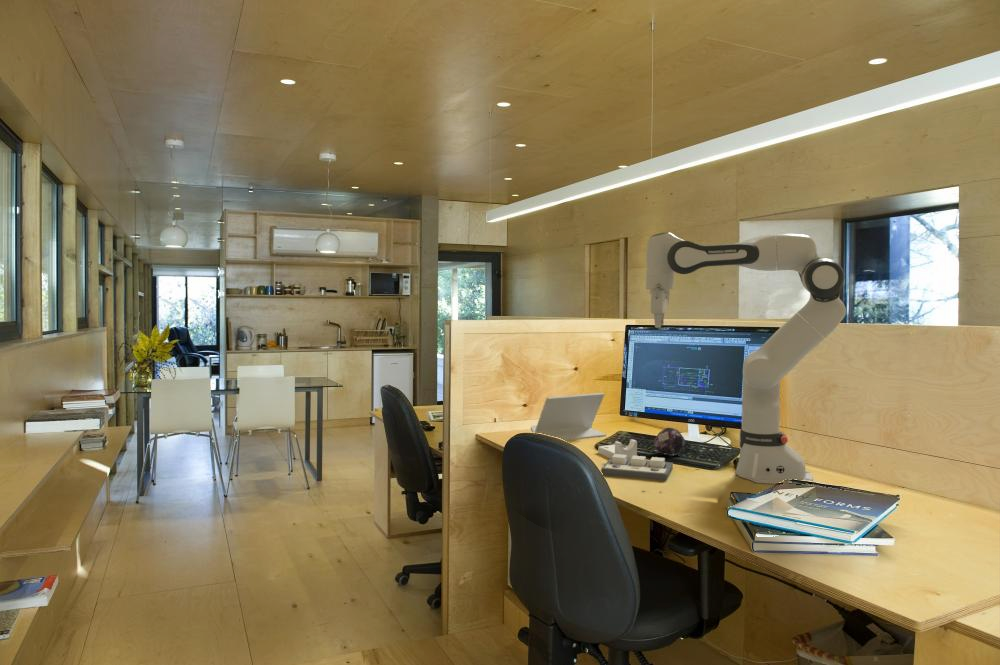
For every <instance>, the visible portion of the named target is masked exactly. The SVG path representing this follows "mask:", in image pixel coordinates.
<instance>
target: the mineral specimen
mask: <svg viewBox="0 0 1000 665" xmlns="http://www.w3.org/2000/svg"><path fill="white" fill-rule="evenodd" d="M685 443H686V439H685V438H684V436H683V435H682V434H681V432H680V431H679V430H678V429H676V428H673V427H665V428H663V429H662V430H661V431H660V432H659V433H658V434H657V435H656V436H655V438H654V440H653V446H654V448H655V449H656V450H658V451H659V452H661V453H667V454H676V453H678V454H679V453H680V452H681V451H682V449H683V448H684V447H685ZM658 451H657V452H658ZM659 452H658V453H659Z"/></svg>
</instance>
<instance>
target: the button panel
mask: <svg viewBox="0 0 1000 665" xmlns="http://www.w3.org/2000/svg"><path fill="white" fill-rule="evenodd" d="M673 467H674V462H669V461H665V466H664V468H663V469H662V468H651V467H650V460H647V459H646V465H645V466H644V467H640V466H631V459H627V463H626V465H617V464H612V457H611V458H609V459H608V460H607V461H606V463H605V464H604V465H603V466H602V467H601V468H600V469H601V470H600V471H601V472H602V473H603V475H602V476H609V477H610V476H611V477H618V478H619V477H620V478H629V479H630V478H631V479H642V480H651V481H652V480H653V481H660V482H661V481H662V482H667V481H668V479H669V477H670V475H671V473H672V471H673V469H674V468H673ZM601 472H600V473H601Z"/></svg>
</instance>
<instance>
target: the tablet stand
mask: <svg viewBox="0 0 1000 665" xmlns="http://www.w3.org/2000/svg"><path fill="white" fill-rule="evenodd" d="M604 397H605V394H604V392H595V393H584V394H581V393H580V394H573V395H572V394H571V395H559V396H550V397H549V396H548V397H546V399H545V401H544V404H543V407H542V410H541V413H540V416H539V417H538V422H537V424H535V425H531V426H530V430H531V432H535V433H542V434H546V435H550V436H554V437H558V438H561V439H563V440H566V441H565V442H568V441H574V440H584V439H593V438H601V437H602V438H603V437H607V434H606V433H604V432H601V431H599V430H598V429H597V430H596V429H595V428H593V424H594V421H595V419H596V416H597V413H598V411H599V409H600V407H601V403H602V401H603V399H604Z"/></svg>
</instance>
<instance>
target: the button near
mask: <svg viewBox="0 0 1000 665" xmlns="http://www.w3.org/2000/svg"><path fill="white" fill-rule="evenodd" d="M649 461H650V467H651V468H662V469H663V468H664V466H665V462H666V458H665V457H657V456H655V457H654V456H652V457H651V458H650V460H649Z"/></svg>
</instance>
